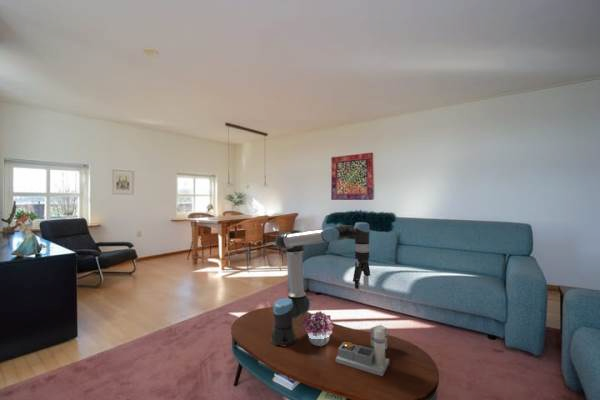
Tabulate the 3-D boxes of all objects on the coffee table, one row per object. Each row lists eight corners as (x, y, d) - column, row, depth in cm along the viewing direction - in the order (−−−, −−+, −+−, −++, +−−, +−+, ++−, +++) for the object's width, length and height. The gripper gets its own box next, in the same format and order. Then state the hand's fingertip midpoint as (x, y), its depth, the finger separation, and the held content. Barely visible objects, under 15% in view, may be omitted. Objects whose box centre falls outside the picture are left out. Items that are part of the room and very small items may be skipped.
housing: (335, 362, 147) (335, 350, 147) (345, 350, 158) (345, 339, 158) (382, 376, 135) (382, 363, 135) (389, 362, 146) (389, 351, 146)
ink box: (377, 353, 156) (376, 331, 156) (370, 349, 160) (370, 328, 160) (387, 348, 160) (387, 327, 160) (380, 344, 164) (380, 324, 165)
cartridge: (372, 364, 141) (372, 331, 141) (376, 359, 145) (375, 327, 146) (383, 367, 138) (383, 334, 138) (386, 362, 143) (386, 330, 143)
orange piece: (342, 355, 149) (342, 345, 150) (345, 350, 154) (345, 341, 154) (351, 357, 147) (351, 347, 147) (354, 353, 151) (354, 343, 151)
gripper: (360, 256, 140) (360, 299, 140) (375, 248, 161) (375, 286, 161) (346, 254, 144) (346, 296, 144) (363, 247, 165) (362, 283, 165)
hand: (361, 290), depth 153 cm, fingers open, 13 cm apart
